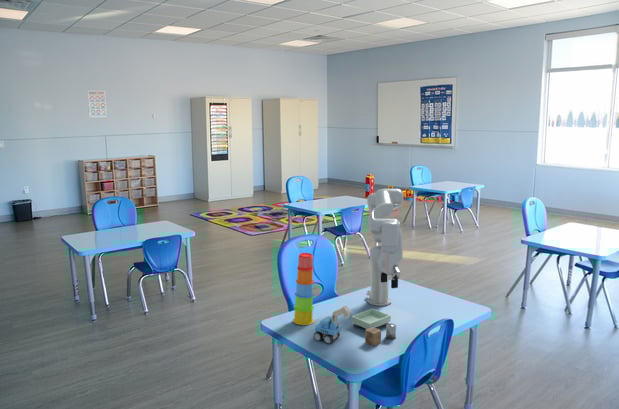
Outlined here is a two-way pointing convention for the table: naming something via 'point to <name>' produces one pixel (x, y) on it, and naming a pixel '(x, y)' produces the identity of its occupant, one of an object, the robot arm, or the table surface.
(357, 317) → the parts cart
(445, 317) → the table surface
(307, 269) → the stacking cups
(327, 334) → the toy excavator
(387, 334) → the grey metal cylinder
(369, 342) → the walnut block
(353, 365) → the table surface
